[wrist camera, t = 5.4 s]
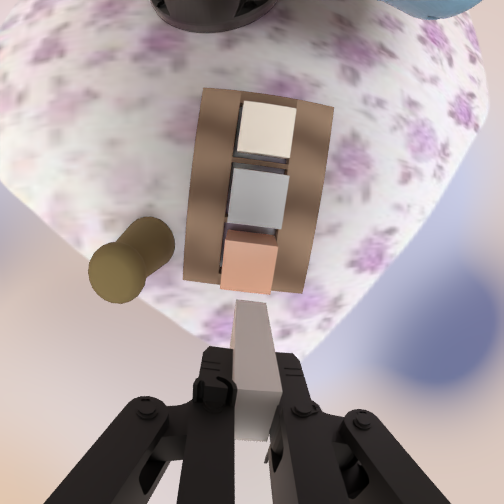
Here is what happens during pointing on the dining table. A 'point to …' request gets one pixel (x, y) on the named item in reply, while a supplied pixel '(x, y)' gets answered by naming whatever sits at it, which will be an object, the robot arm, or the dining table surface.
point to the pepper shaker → (130, 260)
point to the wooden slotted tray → (297, 166)
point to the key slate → (258, 198)
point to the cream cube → (266, 130)
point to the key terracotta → (248, 262)
